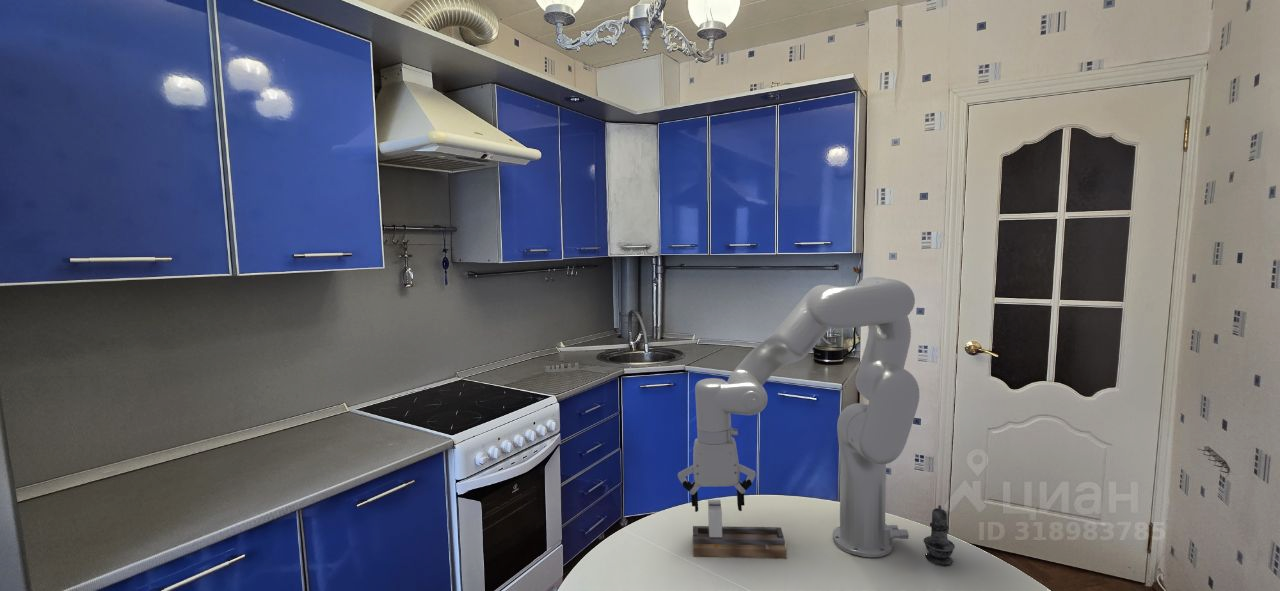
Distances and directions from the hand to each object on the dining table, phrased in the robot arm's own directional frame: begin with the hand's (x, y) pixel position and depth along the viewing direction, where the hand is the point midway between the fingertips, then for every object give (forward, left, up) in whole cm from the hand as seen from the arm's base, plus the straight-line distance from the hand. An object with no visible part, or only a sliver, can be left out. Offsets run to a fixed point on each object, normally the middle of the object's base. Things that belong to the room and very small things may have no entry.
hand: (718, 508), depth 125 cm
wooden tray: (-4, 0, -9) cm, 10 cm away
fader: (+1, 0, -6) cm, 7 cm away
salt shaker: (-46, +4, -9) cm, 47 cm away
